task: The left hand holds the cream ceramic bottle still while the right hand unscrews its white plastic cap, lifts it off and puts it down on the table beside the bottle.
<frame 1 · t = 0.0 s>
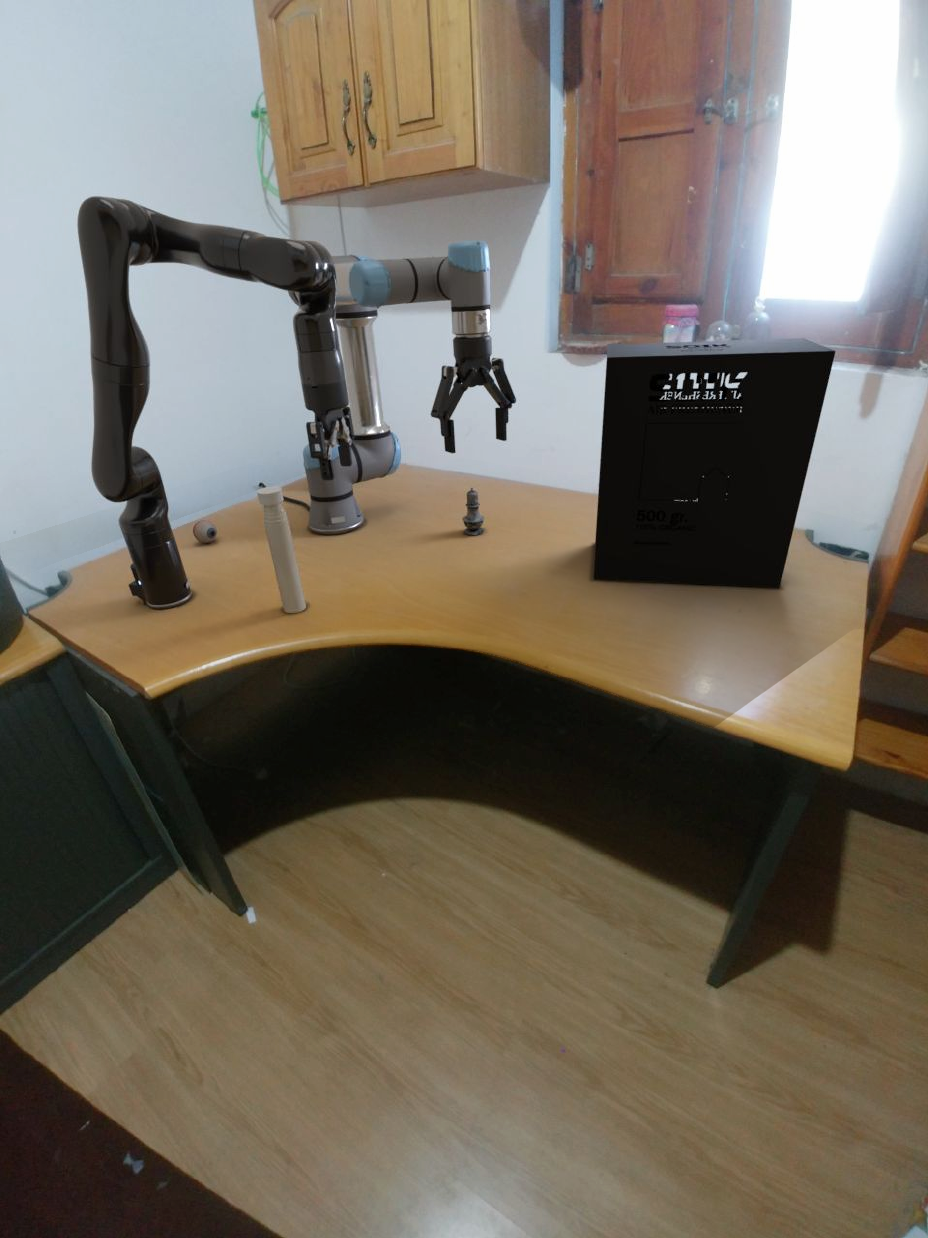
left hand: (338, 472, 110), 29 cm above the table, tool pointing down, fingers open, 8 cm apart
right hand: (476, 445, 127), 28 cm above the table, tool pointing down, fingers open, 13 cm apart
eyeball: (208, 542, 163), on the table
cardboard box: (678, 564, 137), on the table
salt shaker: (474, 531, 160), on the table
cap: (269, 491, 115), point 26 cm above the table, screwed on, not yet turned
bottle: (295, 607, 128), on the table
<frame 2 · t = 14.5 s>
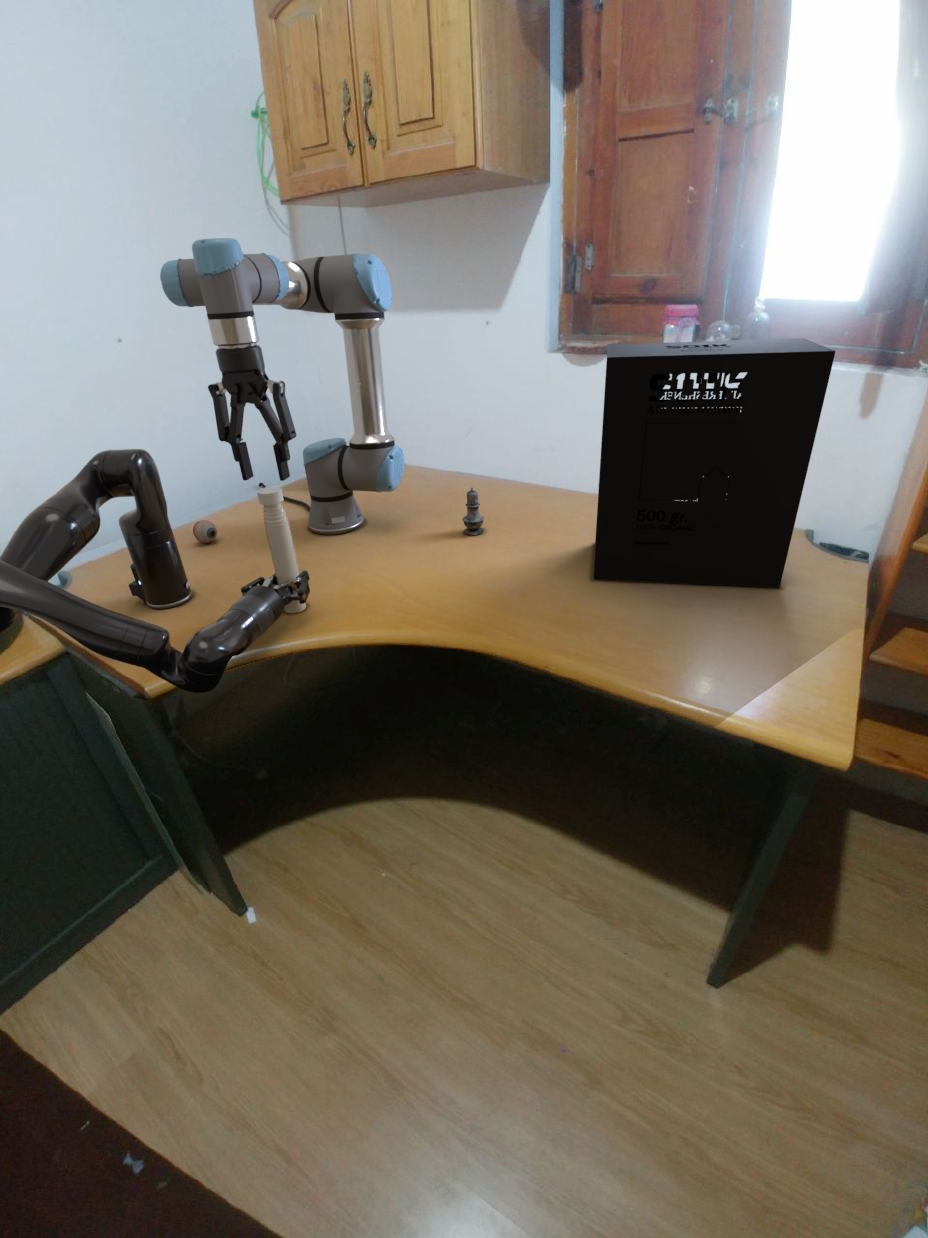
left hand: (294, 574, 127), 7 cm above the table, tool horizontal, fingers closed on bottle, 4 cm apart
right hand: (266, 478, 114), 28 cm above the table, tool pointing down, fingers open, 7 cm apart
bottle: (295, 607, 128), on the table, touching left hand
everything else where it was.
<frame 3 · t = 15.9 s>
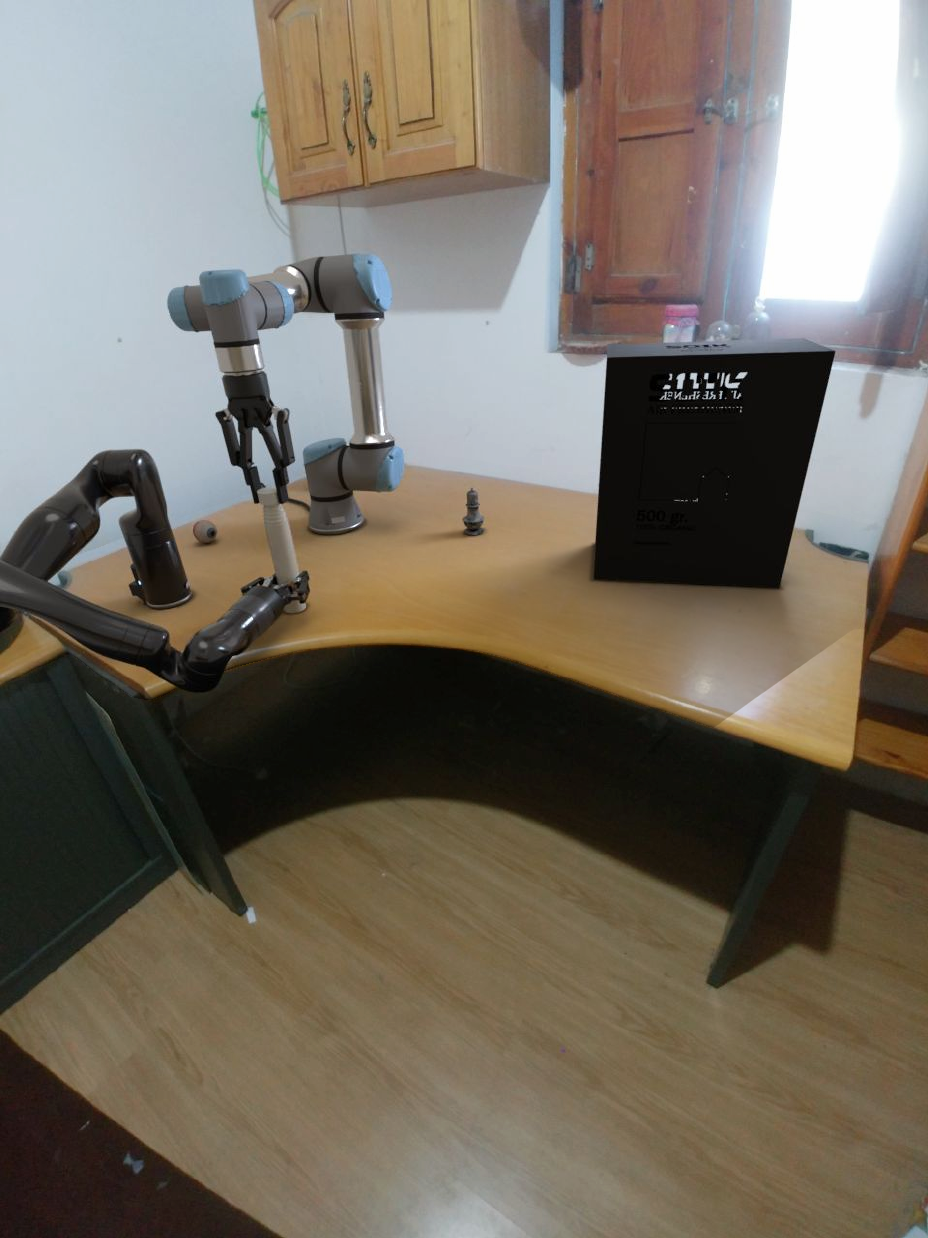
left hand: (294, 574, 127), 7 cm above the table, tool horizontal, fingers closed on bottle, 4 cm apart
right hand: (271, 501, 116), 24 cm above the table, tool pointing down, fingers closed on cap, 4 cm apart
cap: (269, 491, 115), point 26 cm above the table, screwed on, not yet turned, touching right hand
bottle: (295, 607, 128), on the table, touching left hand
everything else where it was.
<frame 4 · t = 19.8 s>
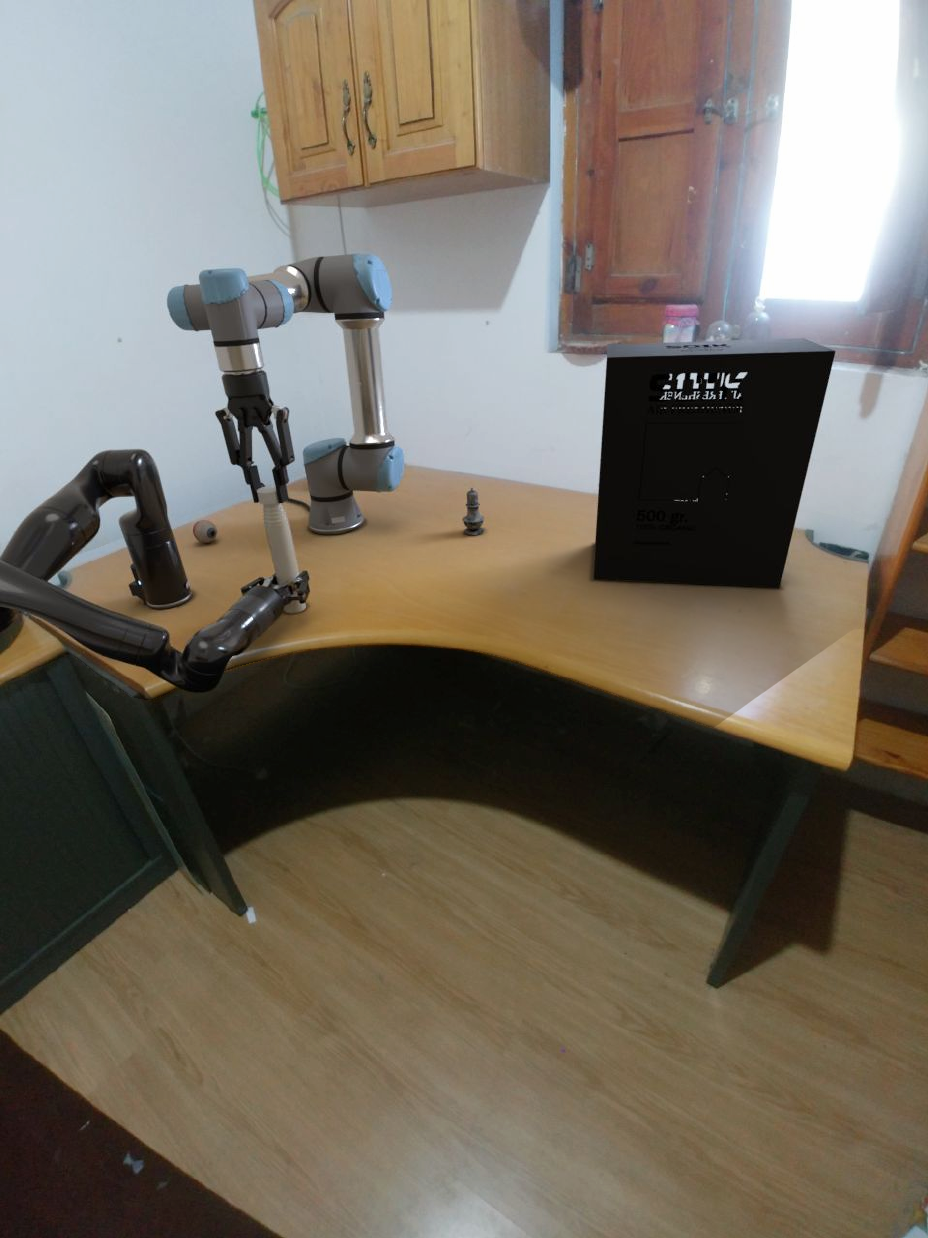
left hand: (294, 574, 127), 7 cm above the table, tool horizontal, fingers closed on bottle, 4 cm apart
right hand: (271, 500, 116), 24 cm above the table, tool pointing down, fingers closed on cap, 4 cm apart
cap: (269, 490, 115), point 26 cm above the table, turned 134° so far, risen 0.2 cm, still on its thread, touching right hand
bottle: (295, 608, 128), on the table, touching left hand
everything else where it was.
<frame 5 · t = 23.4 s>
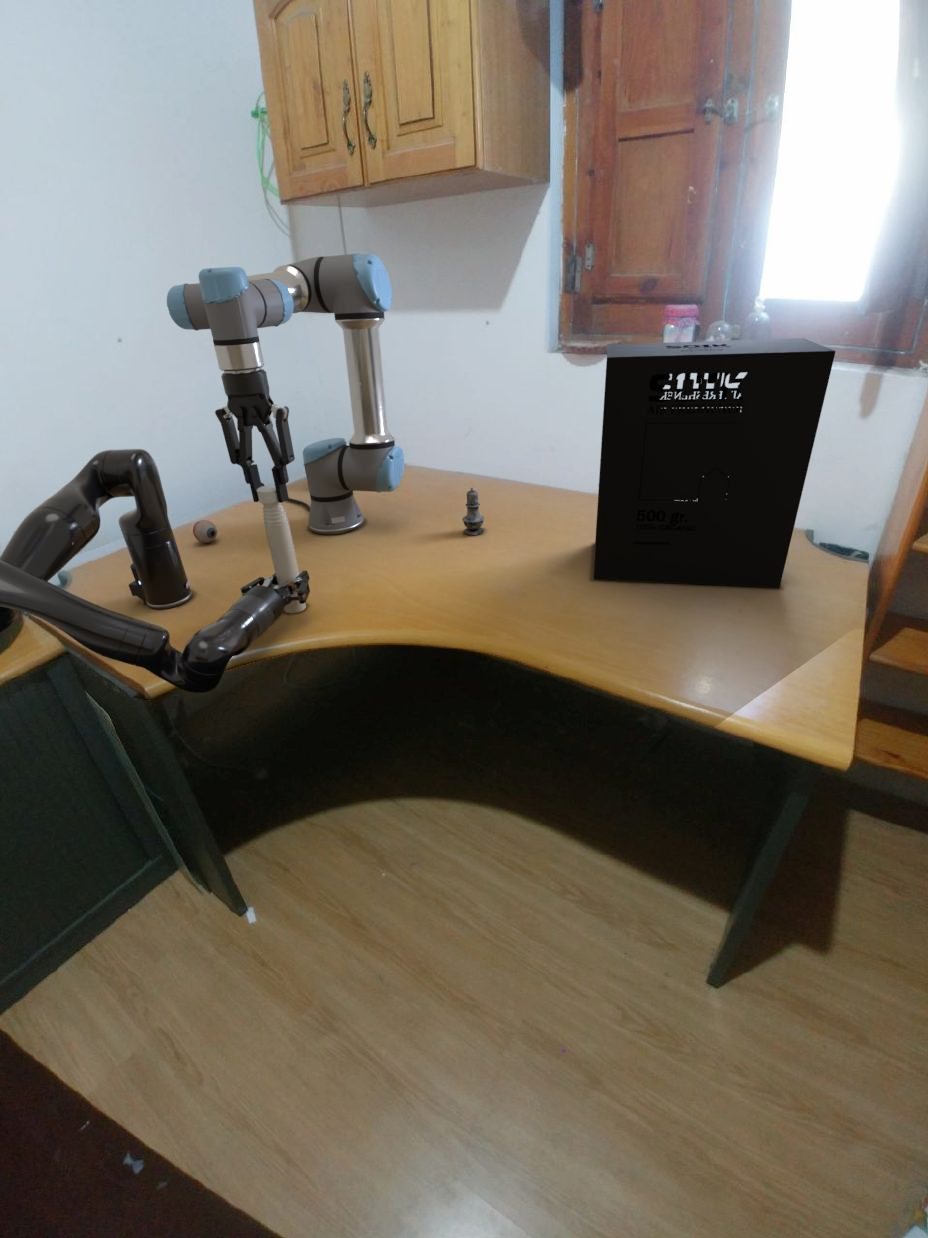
left hand: (294, 574, 127), 7 cm above the table, tool horizontal, fingers closed on bottle, 4 cm apart
right hand: (271, 499, 116), 24 cm above the table, tool pointing down, fingers closed on cap, 4 cm apart
cap: (269, 489, 115), point 26 cm above the table, turned 268° so far, risen 0.3 cm, still on its thread, touching right hand
bottle: (295, 608, 128), on the table, touching left hand
everything else where it was.
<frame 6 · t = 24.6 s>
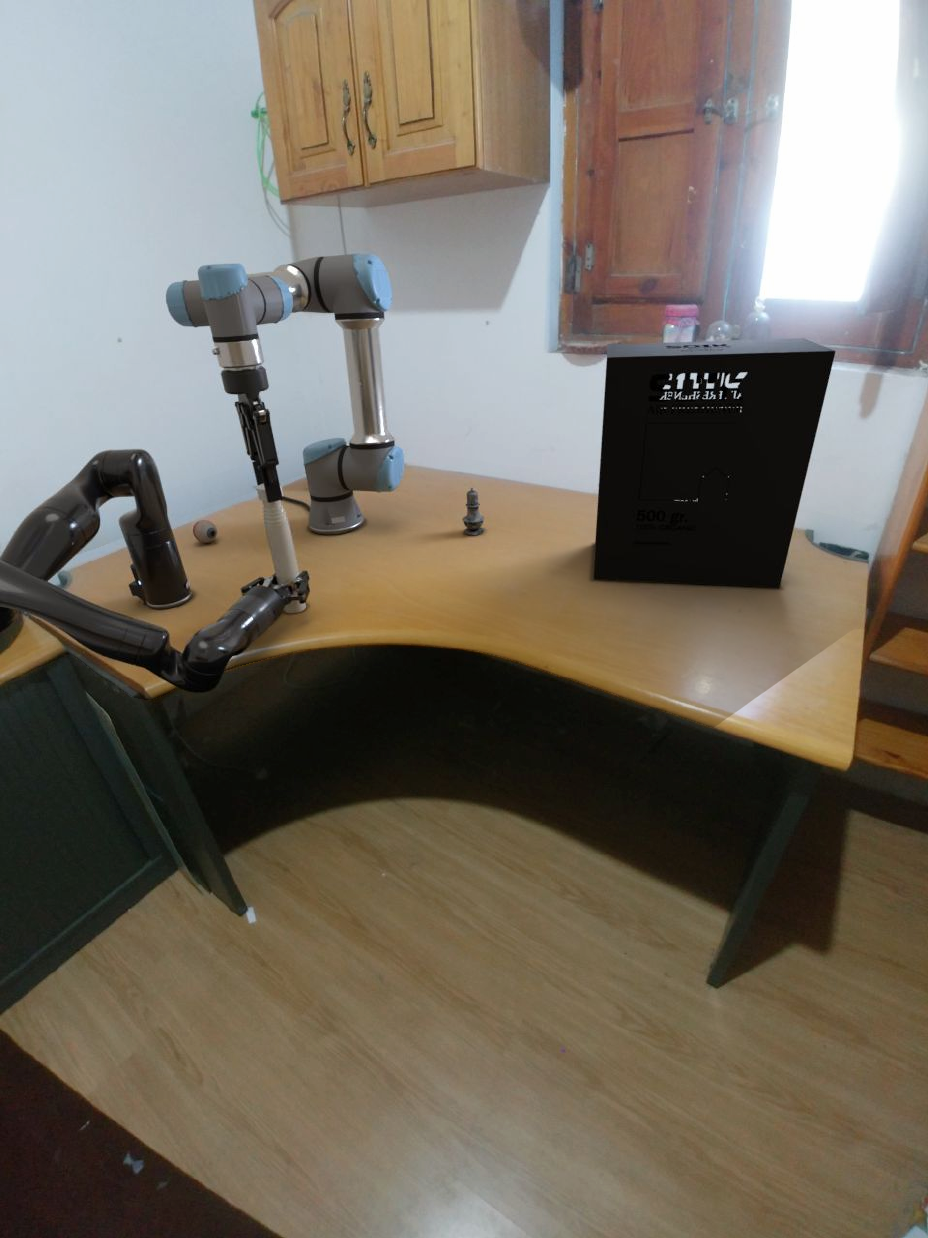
left hand: (294, 574, 127), 7 cm above the table, tool horizontal, fingers closed on bottle, 4 cm apart
right hand: (271, 497, 116), 24 cm above the table, tool pointing down, fingers closed on cap, 4 cm apart
cap: (269, 487, 115), point 26 cm above the table, off its thread, touching right hand
bottle: (295, 608, 128), on the table, touching left hand
everything else where it was.
when the right hand's fingers open (2 cm above the table, at t = 32.3 s): cap drops 2 cm, point 2 cm above the table.
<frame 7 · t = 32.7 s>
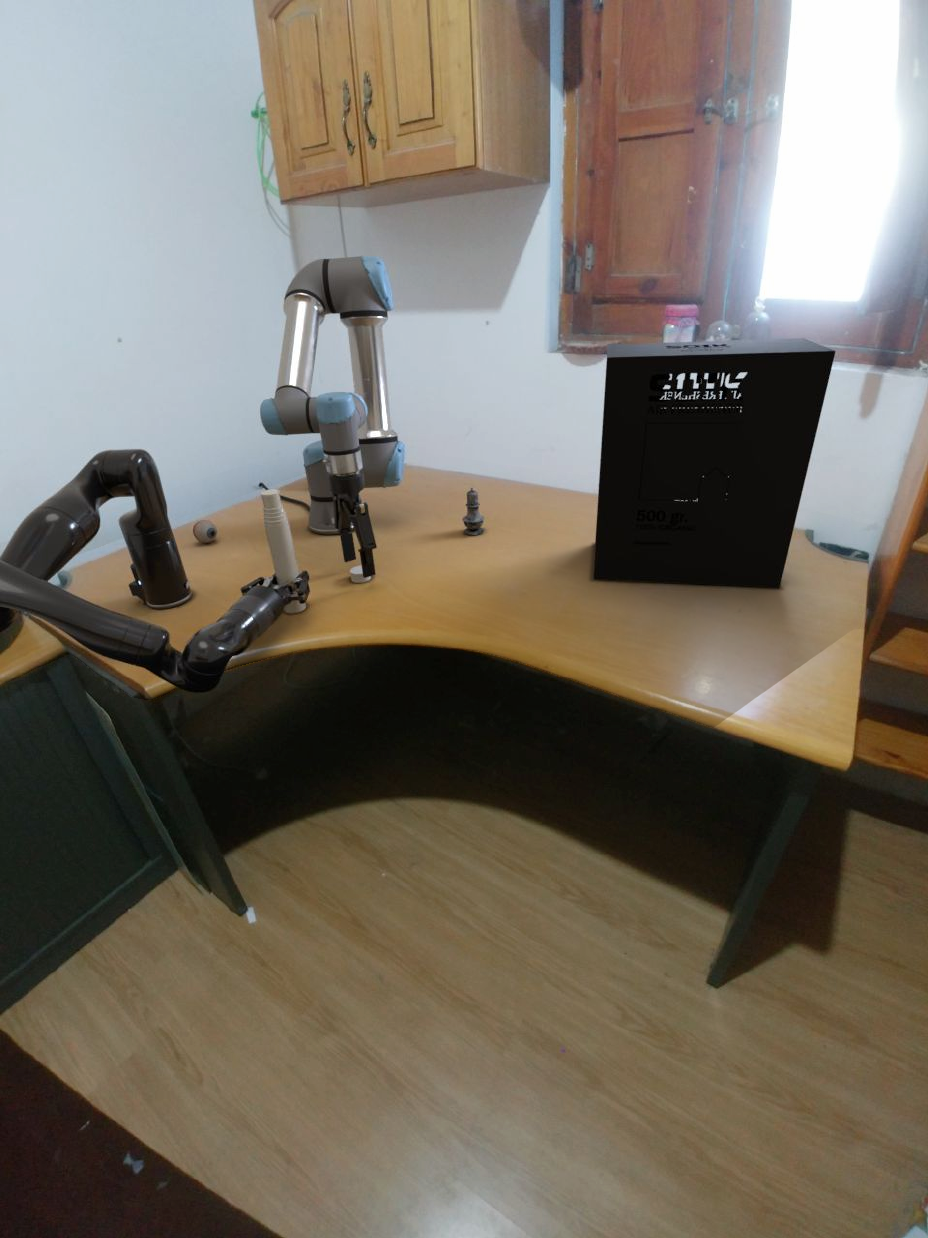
left hand: (294, 574, 127), 7 cm above the table, tool horizontal, fingers closed on bottle, 4 cm apart
right hand: (359, 567, 137), 3 cm above the table, tool pointing down, fingers open, 10 cm apart
cap: (360, 570, 138), point 2 cm above the table, off its thread
bottle: (295, 608, 128), on the table, touching left hand
everything else where it was.
when the left hand's fingers open (7 cm above the table, at t = 33.6 s): bottle stays where it is, on the table.
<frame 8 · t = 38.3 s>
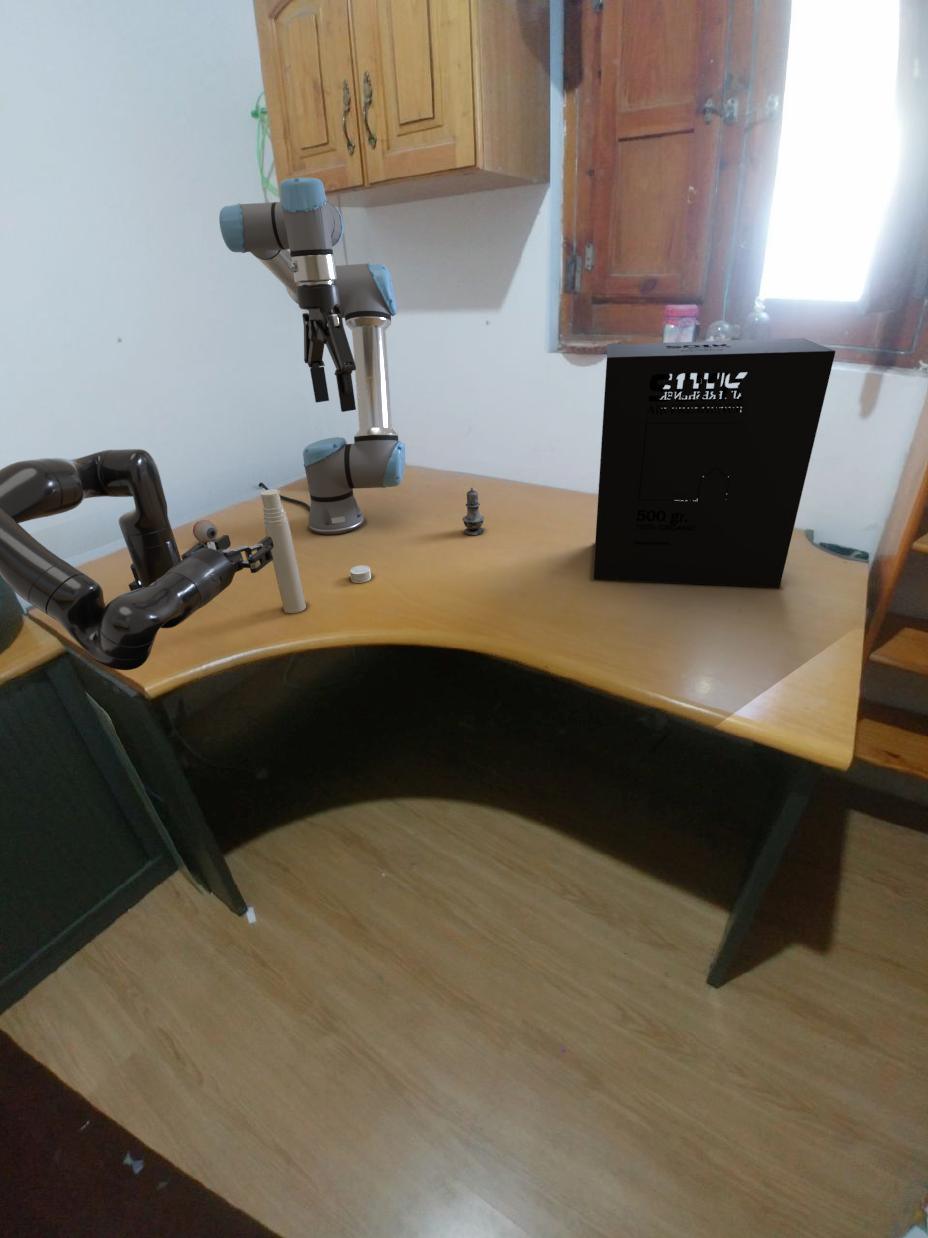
left hand: (249, 540, 110), 20 cm above the table, tool horizontal, fingers open, 8 cm apart
right hand: (335, 405, 120), 38 cm above the table, tool pointing down, fingers open, 13 cm apart
bottle: (295, 608, 128), on the table
everything else where it was.
at the end: cap came off its thread; cap point 1.9 cm above the table; the left hand is holding nothing; the right hand is holding nothing; bottle tilted 0°; bottle moved 0.0 cm from its start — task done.
